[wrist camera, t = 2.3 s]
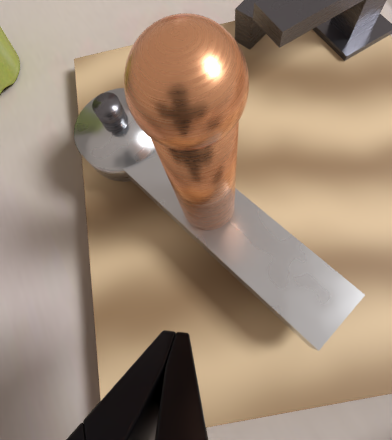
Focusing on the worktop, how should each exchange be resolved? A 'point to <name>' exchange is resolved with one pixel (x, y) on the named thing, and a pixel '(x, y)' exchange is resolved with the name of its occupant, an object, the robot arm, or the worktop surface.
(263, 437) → the worktop surface
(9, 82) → the plant pot
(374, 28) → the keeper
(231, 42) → the latch lever
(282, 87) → the board
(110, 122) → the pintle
